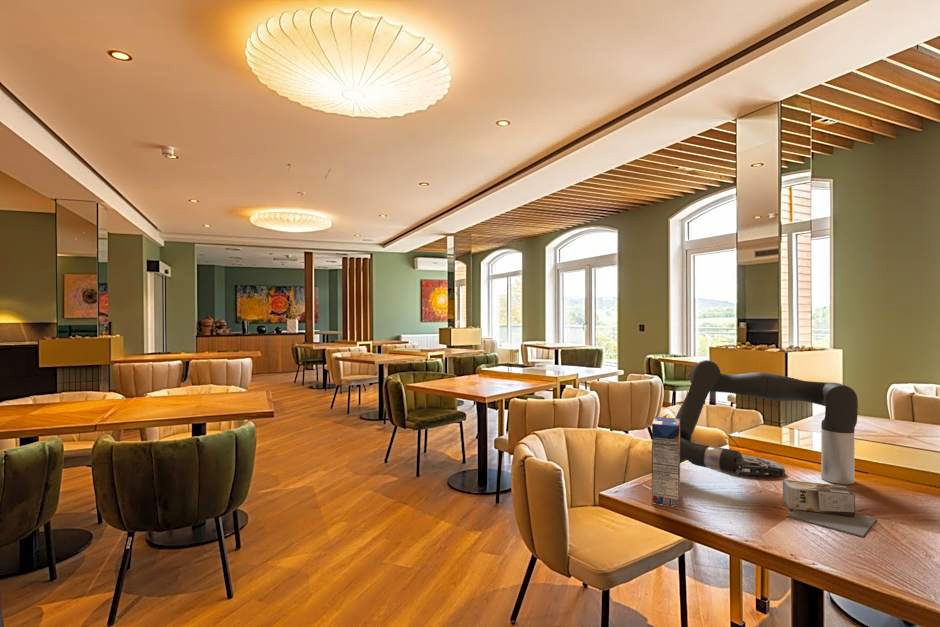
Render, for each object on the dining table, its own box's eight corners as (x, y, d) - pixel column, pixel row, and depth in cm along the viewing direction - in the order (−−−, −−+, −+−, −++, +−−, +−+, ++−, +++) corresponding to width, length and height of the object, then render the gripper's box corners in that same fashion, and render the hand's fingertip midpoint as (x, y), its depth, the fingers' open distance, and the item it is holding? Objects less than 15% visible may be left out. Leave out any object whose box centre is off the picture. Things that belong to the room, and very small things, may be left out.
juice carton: (654, 491, 161) (654, 416, 161) (679, 494, 158) (680, 418, 158) (651, 504, 150) (652, 423, 150) (678, 508, 147) (679, 426, 147)
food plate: (793, 481, 171) (793, 471, 171) (718, 476, 178) (718, 465, 178) (771, 463, 195) (771, 453, 195) (706, 458, 202) (706, 449, 202)
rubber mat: (804, 503, 152) (804, 501, 152) (876, 520, 139) (876, 519, 139) (787, 517, 141) (787, 515, 141) (863, 537, 128) (863, 535, 128)
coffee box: (788, 509, 146) (856, 518, 139) (788, 487, 146) (855, 495, 140) (782, 499, 154) (845, 506, 148) (782, 478, 154) (845, 485, 148)
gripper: (714, 452, 158) (776, 464, 145) (731, 444, 166) (791, 456, 153) (714, 476, 158) (776, 490, 145) (731, 467, 166) (790, 480, 153)
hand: (783, 472), depth 149 cm, fingers closed
